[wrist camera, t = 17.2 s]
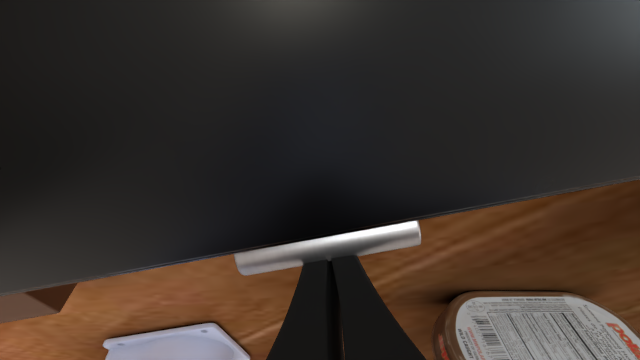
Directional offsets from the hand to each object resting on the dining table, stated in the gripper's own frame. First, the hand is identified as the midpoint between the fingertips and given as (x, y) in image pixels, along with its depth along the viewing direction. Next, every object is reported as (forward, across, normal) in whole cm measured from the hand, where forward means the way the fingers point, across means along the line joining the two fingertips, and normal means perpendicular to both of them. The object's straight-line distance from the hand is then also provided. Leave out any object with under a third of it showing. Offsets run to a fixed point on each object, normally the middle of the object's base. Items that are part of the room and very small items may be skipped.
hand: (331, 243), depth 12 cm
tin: (+4, -12, +15) cm, 20 cm away
